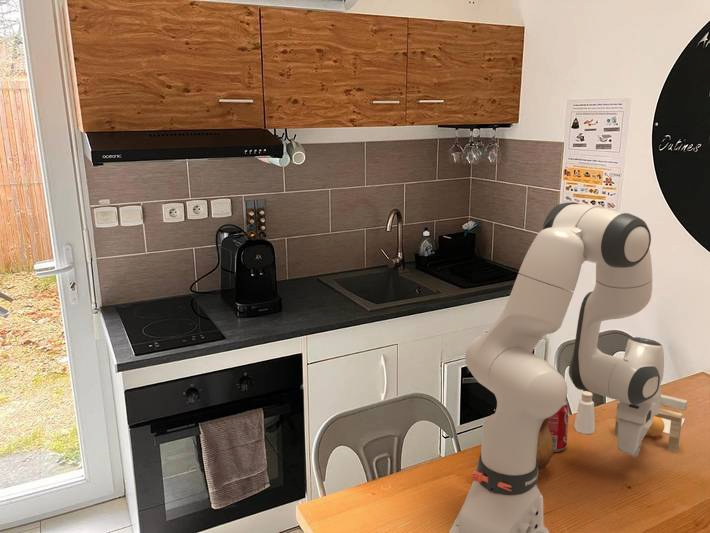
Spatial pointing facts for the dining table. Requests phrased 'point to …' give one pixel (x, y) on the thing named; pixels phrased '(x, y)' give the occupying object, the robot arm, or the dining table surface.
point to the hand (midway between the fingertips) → (634, 453)
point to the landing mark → (667, 425)
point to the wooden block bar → (673, 402)
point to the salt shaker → (585, 414)
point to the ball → (656, 427)
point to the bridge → (674, 427)
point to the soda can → (559, 428)
